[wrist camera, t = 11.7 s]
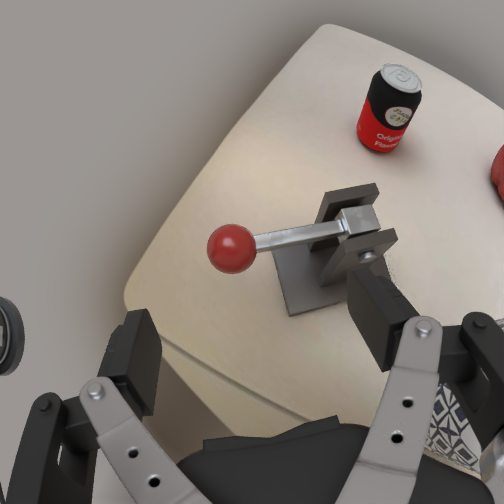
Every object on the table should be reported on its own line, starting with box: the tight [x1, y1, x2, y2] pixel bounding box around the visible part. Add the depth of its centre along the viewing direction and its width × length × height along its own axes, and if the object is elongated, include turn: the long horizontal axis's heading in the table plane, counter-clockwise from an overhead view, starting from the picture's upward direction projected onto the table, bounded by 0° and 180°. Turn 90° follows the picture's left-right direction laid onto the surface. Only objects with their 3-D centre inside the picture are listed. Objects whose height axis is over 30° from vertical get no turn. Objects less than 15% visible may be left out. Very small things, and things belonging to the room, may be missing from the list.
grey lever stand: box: [272, 183, 398, 316], centre depth 29 cm, size 12×9×13 cm
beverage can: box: [357, 63, 422, 152], centre depth 34 cm, size 6×6×12 cm
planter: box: [424, 318, 504, 474], centre depth 22 cm, size 16×16×14 cm
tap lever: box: [207, 204, 381, 274], centre depth 24 cm, size 13×4×4 cm, turn 103°
